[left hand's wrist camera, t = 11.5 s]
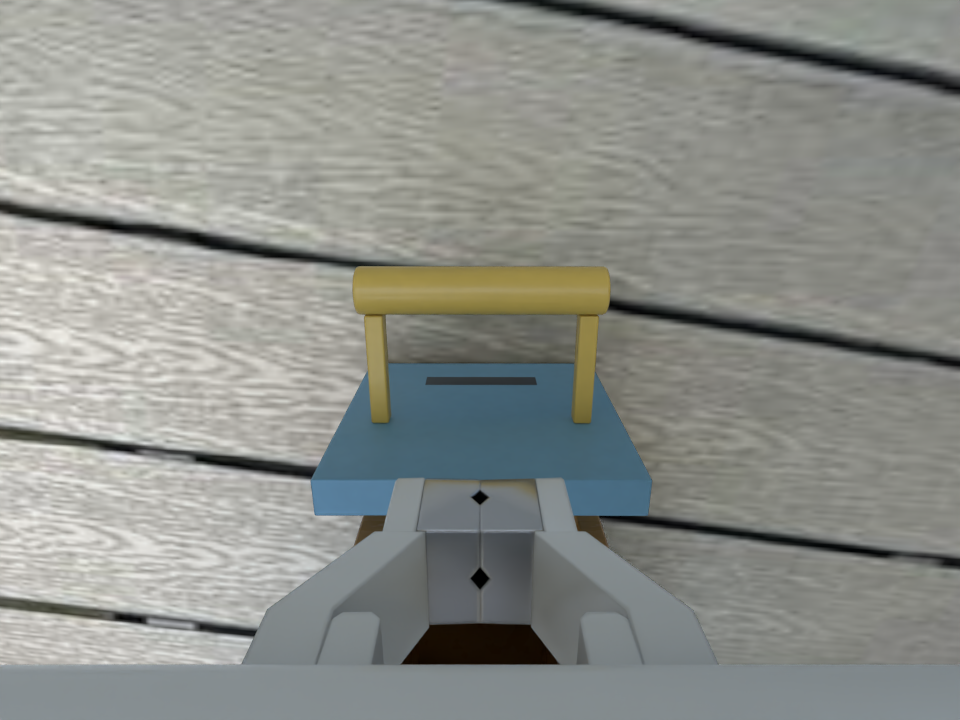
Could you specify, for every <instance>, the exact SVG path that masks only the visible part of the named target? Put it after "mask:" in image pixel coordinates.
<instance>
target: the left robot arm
mask: <svg viewBox="0 0 960 720" xmlns="http://www.w3.org/2000/svg"><path fill="white" fill-rule="evenodd" d="M472 623H487V624H522V625H531V628H532V629H533V630H534V632H535V633H536V634H537V635H538V637H539V638H540V639H541V641H542V642H543V643H544V645H545V646H546V647H547V648H548V650H549V651H550V652H551V654H552V655H553V656H554V658H555V659H556V660H557V661H558V663H559V664H560V665H400V664H401V663H402V662H403V661H404V659H405V658H406V657H407V655H408V654H409V653H410V652H411V650H412V649H413V648H414V646H415V645H416V644H417V643H418V641H419V640H420V639H421V637H422V636H423V635H424V634H425V632H426V631H427V630H428V628H429V625H437V624H472ZM0 720H960V665H719V664H718V662H717V660H716V658H715V656H714V653H713V651H712V649H711V647H710V645H709V643H708V641H707V638H706V636H705V634H704V632H703V630H702V628H701V625H700V623H699V621H698V619H697V617H696V615H695V613H694V610H692V609H691V608H690V607H688V606H687V605H685V604H684V603H683V602H681V601H680V600H679V599H677V598H676V597H675V596H673V595H672V594H670V593H669V592H668V591H666V590H665V589H664V588H662V587H661V586H659V585H658V584H657V583H655V582H654V581H653V580H651V579H650V578H649V577H647V576H646V575H644V574H643V573H642V572H640V571H639V570H638V569H636V568H635V567H634V566H632V565H631V564H629V563H628V562H627V561H625V560H624V559H623V558H621V557H620V556H618V555H617V554H616V553H614V552H613V551H612V550H610V549H609V548H608V547H606V546H605V545H603V544H602V543H601V542H599V541H598V540H597V539H595V538H594V537H593V536H591V535H590V534H588V533H587V532H585V531H577V527H576V523H575V519H574V516H573V512H572V508H571V504H570V501H569V497H568V493H567V489H566V485H565V482H564V479H562V478H561V477H559V478H532V479H492V480H480V479H450V478H426V479H425V478H398V479H397V480H396V481H395V485H394V489H393V492H392V496H391V500H390V504H389V508H388V512H387V515H386V519H385V523H384V527H383V531H375V532H373V533H372V534H370V535H369V536H368V537H366V538H365V539H363V540H362V541H361V542H359V543H358V544H357V545H355V546H354V547H352V548H351V549H350V550H348V551H347V552H346V553H344V554H343V555H341V556H340V557H339V558H337V559H336V560H335V561H333V562H332V563H330V564H329V565H328V566H326V567H325V568H324V569H322V570H321V571H319V572H318V573H317V574H315V575H314V576H313V577H311V578H310V579H308V580H307V581H306V582H304V583H303V584H302V585H300V586H299V587H297V588H296V589H295V590H293V591H292V592H291V593H289V594H288V595H286V596H285V597H284V598H282V599H281V600H280V601H278V602H277V603H275V604H274V605H273V606H271V607H270V608H269V609H267V611H266V613H265V615H264V618H263V620H262V622H261V624H260V626H259V628H258V630H257V632H256V634H255V637H254V639H253V641H252V643H251V645H250V647H249V649H248V651H247V653H246V656H245V658H244V660H243V662H242V664H241V665H0Z"/></svg>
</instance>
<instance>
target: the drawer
mask: <svg viewBox="0 0 960 720" xmlns="http://www.w3.org/2000/svg"><path fill="white" fill-rule="evenodd" d="M353 301H354V306H355V309H356V312H357V313H358V314H366V315H365V317H364V324H365V338H366V352H367V366H368V371H367V373H366V375H365V377H364V379H363V381H362V382H361V384H360V386H359V388H358V390H357V392H356V394H355V396H354V398H353V400H352V402H351V404H350V406H349V407H348V409H347V411H346V413H345V415H344V417H343V419H342V421H341V423H340V425H339V427H338V429H337V431H336V432H335V434H334V436H333V438H332V440H331V442H330V444H329V446H328V448H327V450H326V452H325V454H324V456H323V457H322V459H321V461H320V463H319V465H318V467H317V469H316V471H315V473H314V475H313V477H312V479H311V488H312V496H313V505H314V513H315V515H364V516H363V519H362V522H361V525H360V528H359V531H358V534H357V538H356V541H355V544H354V546H355V545H357V544H358V543H359V542H361V541H362V540H363V539H365V538H366V537H368V536H369V535H370V534H372V533H373V532H375V531H383V527H384V523H385V519H386V515H387V512H388V508H389V504H390V500H391V496H392V492H393V489H394V485H395V481H396V480H397V479H398V478H425V479H426V478H450V479H480V480H492V479H532V478H559V477H561V478H562V479H564V482H565V485H566V489H567V493H568V497H569V501H570V504H571V508H572V512H573V516H574V519H575V523H576V527H577V531H585V532H587V533H588V534H590V535H591V536H593V537H594V538H595V539H597V540H598V541H599V542H601V543H602V544H603V545H605V546H606V547H608V548H609V546H608V543H607V540H606V537H605V534H604V531H603V528H602V525H601V522H600V519H599V516H647V515H648V512H649V503H650V495H651V487H652V479H651V477H650V475H649V473H648V472H647V470H646V468H645V466H644V464H643V462H642V460H641V458H640V456H639V454H638V452H637V451H636V449H635V447H634V445H633V443H632V441H631V439H630V437H629V435H628V433H627V431H626V430H625V428H624V426H623V424H622V422H621V420H620V418H619V416H618V414H617V412H616V410H615V409H614V407H613V405H612V403H611V401H610V399H609V397H608V395H607V393H606V391H605V389H604V388H603V386H602V384H601V382H600V380H599V378H598V376H597V374H596V372H595V363H596V350H597V337H598V323H599V317H598V315H603V314H605V313H606V312H607V309H608V306H609V301H610V276H609V272H608V269H607V268H606V267H565V266H359V267H357V268H356V269H355V272H354V276H353ZM385 315H577V329H576V346H575V362H574V364H426V363H388V351H387V334H386V317H385ZM400 665H560V664H559V663H558V661H557V660H556V659H555V658H554V656H553V655H552V654H551V652H550V651H549V650H548V648H547V647H546V646H545V645H544V643H543V642H542V641H541V639H540V638H539V637H538V635H537V634H536V633H535V632H534V630H533V629H532V628H531V625H522V624H487V623H472V624H437V625H429V628H428V630H427V631H426V632H425V634H424V635H423V636H422V637H421V639H420V640H419V641H418V643H417V644H416V645H415V646H414V648H413V649H412V650H411V652H410V653H409V654H408V655H407V657H406V658H405V659H404V661H403V662H402V663H401V664H400Z"/></svg>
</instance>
